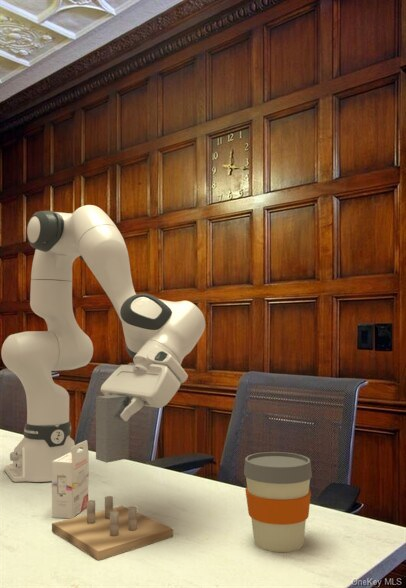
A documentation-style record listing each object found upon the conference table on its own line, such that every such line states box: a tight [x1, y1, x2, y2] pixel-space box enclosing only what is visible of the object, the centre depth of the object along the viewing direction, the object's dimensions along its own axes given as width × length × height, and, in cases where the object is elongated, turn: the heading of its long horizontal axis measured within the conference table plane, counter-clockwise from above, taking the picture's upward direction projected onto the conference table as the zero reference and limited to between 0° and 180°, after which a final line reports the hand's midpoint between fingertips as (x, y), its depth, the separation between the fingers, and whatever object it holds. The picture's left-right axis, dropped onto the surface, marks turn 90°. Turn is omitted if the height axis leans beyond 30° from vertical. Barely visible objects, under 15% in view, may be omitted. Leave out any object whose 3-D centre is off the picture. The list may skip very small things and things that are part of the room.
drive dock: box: [51, 495, 174, 561], centre depth 104 cm, size 18×16×6 cm
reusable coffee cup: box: [243, 451, 313, 553], centre depth 99 cm, size 12×13×15 cm
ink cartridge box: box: [51, 439, 90, 519], centre depth 117 cm, size 9×5×15 cm, turn 168°
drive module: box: [95, 395, 130, 463], centre depth 105 cm, size 4×5×12 cm
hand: (114, 417), depth 105 cm, fingers closed on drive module, 4 cm apart
